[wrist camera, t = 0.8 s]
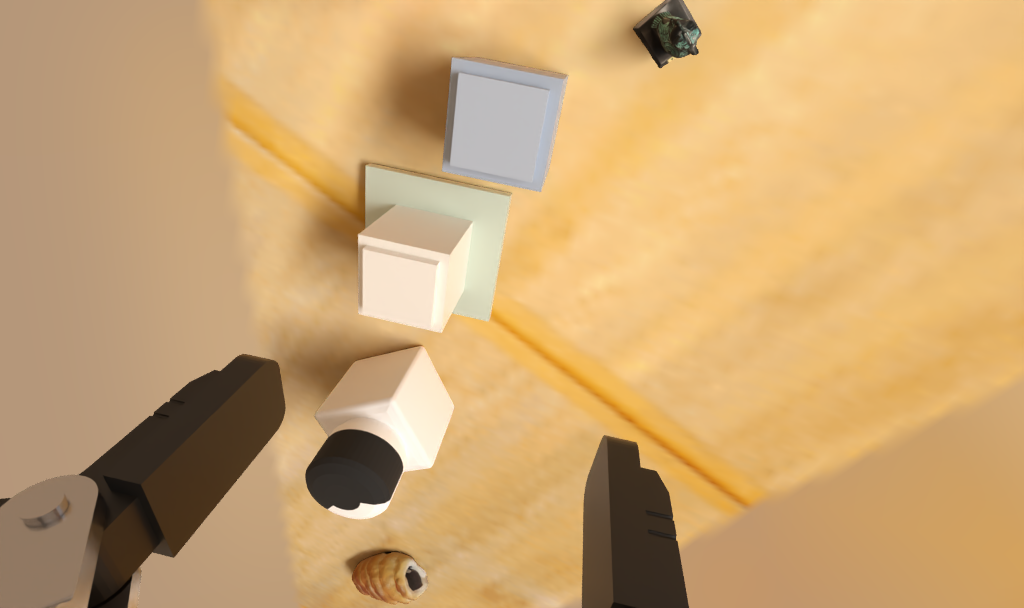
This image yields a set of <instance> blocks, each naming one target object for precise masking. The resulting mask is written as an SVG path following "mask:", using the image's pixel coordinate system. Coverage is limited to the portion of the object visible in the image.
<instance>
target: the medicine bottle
mask: <svg viewBox="0 0 1024 608" xmlns="http://www.w3.org/2000/svg"><path fill="white" fill-rule="evenodd" d="M453 410H454V404H453V402H452V400H451V398H450V397H449V395H448V393H447V391H446V389H445V387H444V385H443V383H442V381H441V379H440V377H439V375H438V373H437V371H436V369H435V367H434V366H433V364H432V362H431V360H430V358H429V356H428V354H427V352H426V350H425V348H424V347H422V346H418V347H413V348H409V349H405V350H400V351H396V352H392V353H387V354H383V355H379V356H374V357H370V358H366V359H361V360H357V361H355V362H354V363H353V364H352V366H351V367H350V368H349V369H348V371H347V372H346V373H345V375H344V376H343V377H342V379H341V380H340V381H339V383H338V384H337V385H336V386H335V388H334V389H333V390H332V392H331V393H330V394H329V396H328V397H327V398H326V400H325V401H324V402H323V404H322V405H321V406H320V407H319V409H318V410H317V411H316V413H315V418H316V420H317V421H318V423H319V424H320V425H321V427H322V428H323V430H324V431H325V433H326V434H327V435H328V438H327V440H326V441H325V443H324V444H323V446H322V447H321V449H320V450H319V452H318V453H317V455H316V456H315V457H314V459H313V460H312V462H311V463H310V465H309V466H308V468H307V470H306V474H305V477H306V484H307V488H308V490H309V492H310V494H311V495H312V497H313V498H314V499H315V500H316V501H317V502H318V503H319V504H320V505H322V506H323V507H324V508H326V509H328V510H329V511H331V512H333V513H335V514H338V515H340V516H343V517H347V518H352V519H367V518H371V517H374V516H376V515H379V514H380V513H382V512H383V511H385V510H386V509H387V507H388V505H389V503H390V501H391V499H392V497H393V494H394V492H395V490H396V488H397V485H398V483H399V481H400V479H401V476H402V474H403V472H405V471H412V470H419V469H427V468H431V467H432V465H433V463H434V461H435V458H436V455H437V453H438V450H439V447H440V445H441V442H442V440H443V437H444V434H445V432H446V429H447V426H448V424H449V421H450V418H451V416H452V413H453Z"/></svg>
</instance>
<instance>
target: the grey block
mask: <svg viewBox="0 0 1024 608" xmlns="http://www.w3.org/2000/svg"><path fill="white" fill-rule="evenodd" d="M567 79H568V75H565V74H560V73H555V72H550V71H545V70H540V69H535V68H530V67H525V66H520V65H514V64H509V63H504V62H499V61H494V60H489V59H484V58H479V57H452V63H451V74H450V85H449V97H448V108H447V120H446V131H445V143H444V154H443V166H442V171H443V172H448V173H453V174H457V175H462V176H467V177H472V178H476V179H481V180H486V181H491V182H495V183H500V184H505V185H510V186H514V187H519V188H524V189H529V190H534V191H538V192H541V190H542V187H543V185H544V182H545V179H546V176H547V173H548V170H549V166H550V162H551V157H552V152H553V147H554V142H555V137H556V133H557V128H558V123H559V118H560V113H561V108H562V104H563V99H564V94H565V89H566V84H567Z"/></svg>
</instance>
